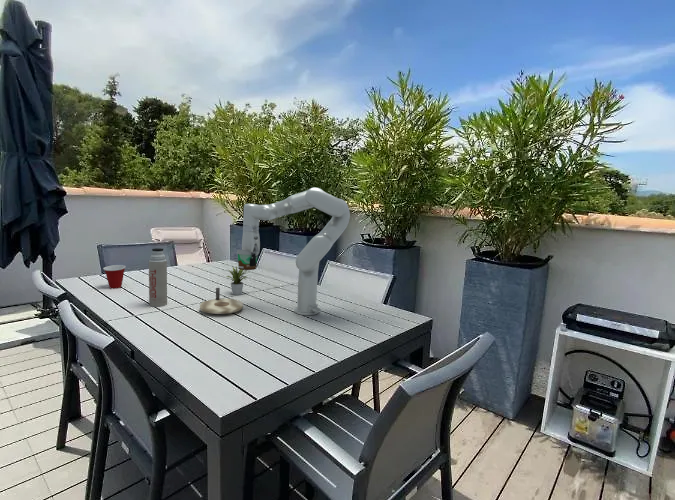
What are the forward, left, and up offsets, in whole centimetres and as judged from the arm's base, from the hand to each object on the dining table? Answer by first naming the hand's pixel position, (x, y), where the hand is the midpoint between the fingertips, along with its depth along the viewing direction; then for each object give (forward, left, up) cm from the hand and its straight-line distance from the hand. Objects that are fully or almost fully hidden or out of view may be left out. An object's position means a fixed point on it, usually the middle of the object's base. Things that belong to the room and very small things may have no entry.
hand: (249, 264), depth 181 cm
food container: (-1, 0, -2) cm, 2 cm away
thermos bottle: (+29, +33, -22) cm, 49 cm away
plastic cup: (+74, +40, -22) cm, 87 cm away
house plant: (+24, -8, -22) cm, 33 cm away
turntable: (+3, +13, -22) cm, 26 cm away
